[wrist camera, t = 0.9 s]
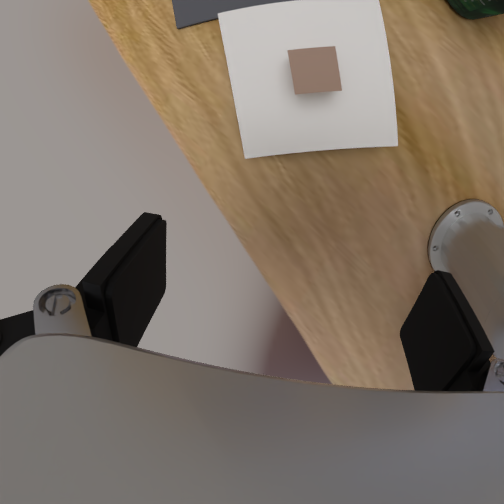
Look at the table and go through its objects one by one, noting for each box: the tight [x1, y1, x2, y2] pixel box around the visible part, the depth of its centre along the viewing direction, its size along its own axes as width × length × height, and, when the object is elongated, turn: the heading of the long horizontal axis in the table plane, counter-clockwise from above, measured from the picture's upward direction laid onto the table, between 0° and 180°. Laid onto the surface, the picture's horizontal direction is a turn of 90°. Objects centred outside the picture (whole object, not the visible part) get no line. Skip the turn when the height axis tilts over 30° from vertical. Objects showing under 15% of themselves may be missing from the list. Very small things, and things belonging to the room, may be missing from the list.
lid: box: [218, 0, 398, 159], centre depth 23 cm, size 15×15×7 cm
